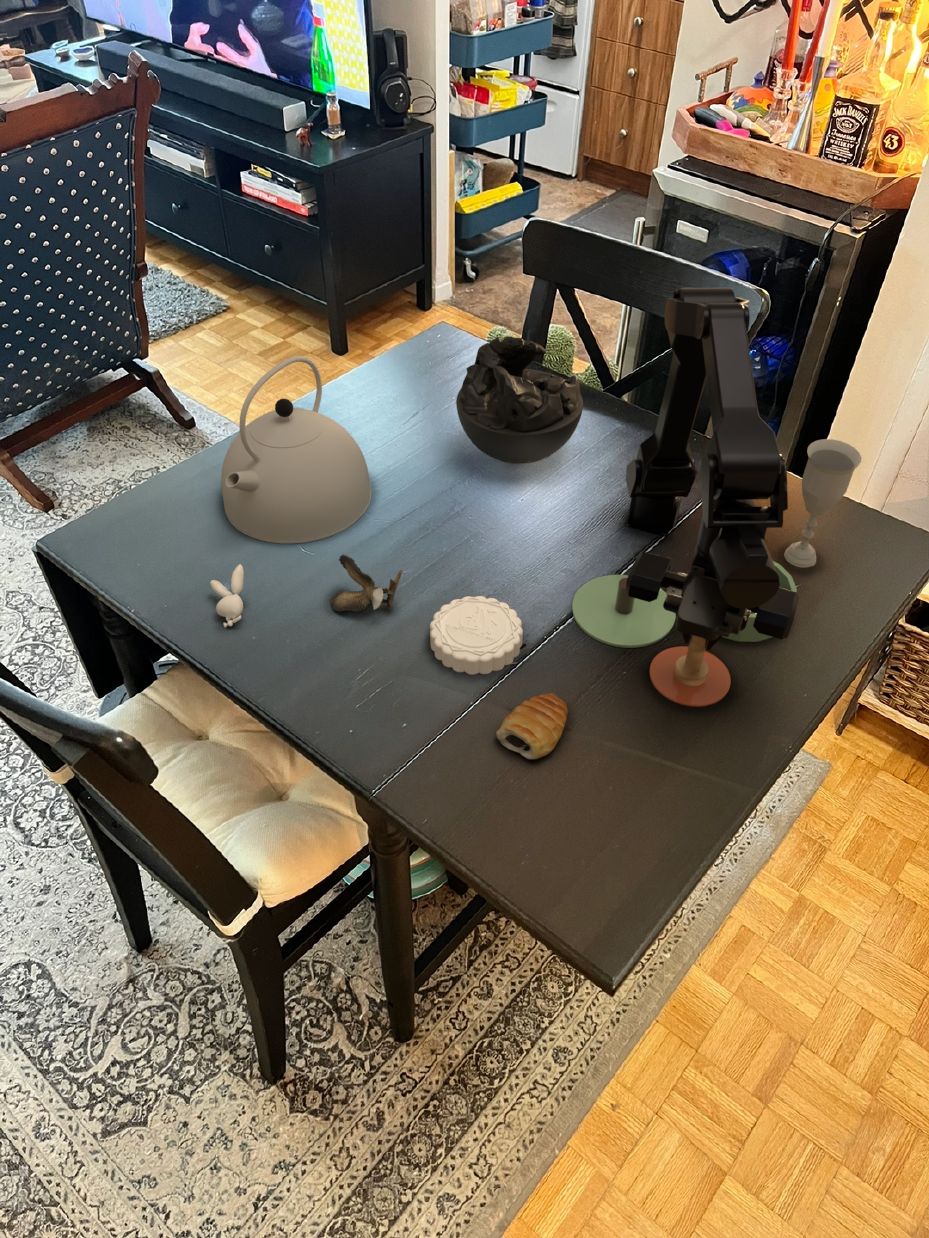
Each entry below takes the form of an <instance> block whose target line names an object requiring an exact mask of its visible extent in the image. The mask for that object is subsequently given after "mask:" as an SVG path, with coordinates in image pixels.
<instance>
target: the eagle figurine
mask: <svg viewBox="0 0 929 1238" xmlns="http://www.w3.org/2000/svg"><path fill="white" fill-rule="evenodd" d="M338 561H339V562H340V563H339V564H341V565H342V568H344V569H345V570H346V572H347V574H348V576H349V577H350V578H351V579H352V580H353V581H354V582H355V583H356V584H358V585H359V586H361V587H362V590H360V591H358V590H355V591H354V590H352V591H351V590H350V591H348V590H347V591H345V590H340V591H339V592H336V593H335V594H333V595H331V597H330V599H329V604H330V608H332V610H334V611H335V612H346V611H349V612H350V611H351V612H354V613H355V612H356V613H357V612H361V611H364V610H365V609H366V607H367V606H368V605H369V604H372V609H373V610H374V611H375V610H377V609H378V608H380V606H381V604H385V605H386V607H387V609H388V610H389V611H390V612H392V611H393V602H394V599H395V598H394V597H395V594H396V591H397V589H398V586H399V583H400V580H401V577H402V572H403V570H402V569H400V570H399V571H398V573H397V575H396V577H395V578H394V579H392V578H390V579H389V586H388V587H385V588H382V587H378V586H375V585H376V584H375V583H376V582H375V581H374V580H373V578H372V576H370V575H369V574H367V573H365V572H363V571H362V570H361V567H359V566H358V564H357V563H356V561H355V559H353V558H352V557H350V556H348V555H346V554H341V555H340V556H339V558H338ZM384 594H386V596H387V597H386V599H385V598H384Z"/></svg>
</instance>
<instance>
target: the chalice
mask: <svg viewBox="0 0 929 1238" xmlns="http://www.w3.org/2000/svg"><path fill="white" fill-rule="evenodd" d="M806 453H807V456H808V459H807V462H806V466H805V468H804V472H803V475H802V478H801V493H802V498H803V503H804V506H805V510H806V511H807V512H808V513H809V514H810V516H809V517H808V519H807V520H805V524H806V528H805V529H803V530H802V531H801V535H802V540H800V541H795V542H792V543H791V544H790V545H789V546H788V547H787V548H786V549H785V551H784V554H783V556H784V559H785V561H787V562H788V563H789V564H790V565H793V566H795V567H797V568H810V567H814V566H815V565H816V564H817V555H816V549H815V548H814V546H813V545H811V544H810V540H811V539H812V538H814V537H815V533H814V528H815V527H817V526H818V522H817V519H818V517H819V516H824V515H825V514H827V513H828V512H829V511H830V510H831V509H832V508H834V507H835V506H836V505H837V504H838V503H839V502H840V501H841V499H842V498H843V497H844V496H845V494H847V491H848V488H849V485H850V482H851V481H852V477H853V474H854V471H855V470H856V469H857V468H858V467H859V466H860V465H861V464H862V455H861V453H860V452H859V451H858V450H857V449H856V447H854V446H852V445H850V444H849V443H847V442H844V441H842V440H838V439H831V438H828V439H827V438H824V439H818V440H815V441H812V442H811V443H810V444H809V445H808V447H807V451H806Z"/></svg>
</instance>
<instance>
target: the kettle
mask: <svg viewBox="0 0 929 1238" xmlns="http://www.w3.org/2000/svg"><path fill="white" fill-rule="evenodd" d="M295 363H304V364H307V365H308V366H309V367H310V368H311V370H312V372H313V374H314V378H315V384H316V391H315V392H316V394H315V399H314V404H313V407H312V410H310V409H306V408H301V407H294V404H293V402H292V401H291V400H290V399H288V398H280V399H277V400H276V402H275V404H274V409H273V410H271V411H268V412H266V413H263V414H262V415H260V416H258V417H256V418H254V419H253V420H252V421H250V422H249V423H248V424H246V422H247V415H248V412H249V408H250V405H251V404H252V401H253V399H254V398H255V396H256V394H257V393H258V392H259V391H260V389H261V388H262V387H263V386H264V385H265V384H266V382H267V381H269V380H270V379H271V378H272V377H273V376H275V375H276V374H277V373H279V372H280V371H282V370H284V368H286V367H287V366H289V365H292V364H295ZM322 383H323V382H322V377H321V373H320V370H319V368H318V366H317V365H316V363H315V362H314V361H313V360H312V359H310V358H308V357H307V356H304V355H295V356H291V357H288V358H286V359H284V360H282V361H280V362H279V363H278V364H276V365H275V366H273V367H272V368H270V369H269V370H268V371H267V372H265V374H264V375H262V376H261V377H260V379H258V380H257V381H256V383H255V384H254V385H253V387H252V388H251V390H250V391H249V392H248V394H247V395H246V398H245V399H244V401H243V404H242V407H241V410H240V415H239V432H238V433H237V434H236V436H235V437H234V438H233V440H232V442H230V444H229V447H228V448H227V450H226V453H225V456H224V459H223V462H222V467H221V475H220V485H221V495H222V500H223V508H224V513H225V515H226V517H227V519H228V521H229V522H230V523H231V525H232V526H233V527H234V528H235V529H236V530H238V531H239V532H240V533H242V534H244V535H245V536H248V537H250V538H253V539H256V540H259V541H262V542H267V543H273V544H285V545H288V544H292V545H293V544H304V543H311V542H316V541H320V540H324V539H327V538H329V537H333V536H335V535H337V534H339V533H341V532H343V531H345V530H346V529H348V528H349V527H351V526H352V525H355V523H356V522H358V521H359V520H360V519H361V518H362V517H363V516H364V514H365V513H366V511H367V510H368V508H369V507H370V504H371V501H372V486H371V480H370V473H369V467H368V465H367V461H366V459H365V456H364V454H363V451H362V450H361V447H360V445H359V444H358V442H357V440H355V439H354V437H353V435H351V434H350V433H349V431H348V430H346V428H345V427H343V426H342V425H341V424H340V423H338V422H337V421H336V420H334V419H332V418H331V417H329V416H327V415H325V414H322V413H320V412H319V411H320V410H319V409H320V405H321V401H322V396H323V384H322Z"/></svg>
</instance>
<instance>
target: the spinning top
mask: <svg viewBox="0 0 929 1238" xmlns="http://www.w3.org/2000/svg"><path fill="white" fill-rule="evenodd" d="M688 647H689V646H687V645H686V646H685V645H682V646H681V645H679V646H673V647H669V648H665V649H664V650H662V651H660V652H659V653H657V654H656V655H655V656H654V658H653V659H652V661H651V663H650V666H649V671H648V672H649V679H650V681H651V684H652V685H653V687H654V689H656V691H657V692H658V693H659V694H661V695H662V696H663V697H664V698H666V699H668V700H669V701H671V702H673V703H675V704H678V705H680V706H681V705H682V706H687V707H692V708H693V707H695V708H700V707H707V706H712V705H714V704H716V703H718V702H720V701H721V700H723V699H724V698H725V697H726V696H727V694H728V693H729V690H730V688H731V683H732V682H731V681H732V679H731V674H730V671H729V669H728V668H727V666H726V665H725V663H723V661H722V660H721V659H720V658H719V657H717V656H716V655H715V654H713V653H711V652H709V651H708V650H705V653H704V657H703V660H704V661H705V662H706V663H707V665H708V668H709V670H708V674H707V678H706V680H705V682H704V683H703V684H701V685H699V686H687V685H684V684H682V683H680V682H679V681H678V680H677V679H676V677H675V675H674V670H675V665H676V662H677V660H678V659H679V658H680V657H682V656H685V655H687V651H688Z"/></svg>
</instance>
